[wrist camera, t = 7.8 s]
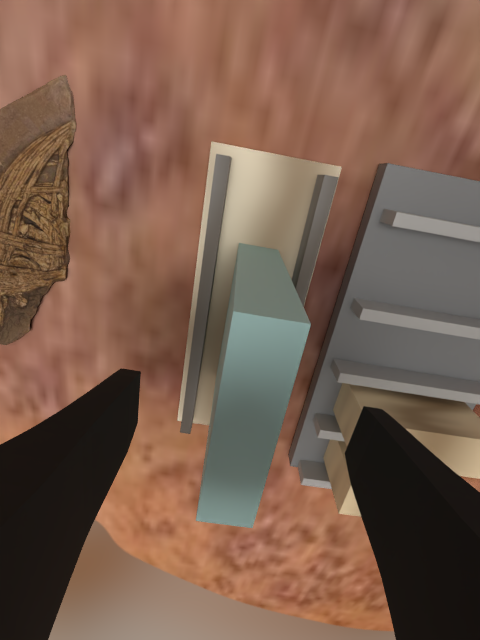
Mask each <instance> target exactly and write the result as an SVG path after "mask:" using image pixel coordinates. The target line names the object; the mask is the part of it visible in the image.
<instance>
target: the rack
mask: <svg viewBox="0 0 480 640" xmlns="http://www.w3.org/2000/svg"><path fill="white" fill-rule="evenodd" d="M342 383H346V384H352V385H359V386H365V387H372V388H378V389H384V390H391V391H397V392H404V393H410V394H416V395H423V396H429V397H436V398H442V399H448V400H455V401H461V402H465V403H466V404H467V405H468V406H469V407H470V408H471V410H473V409H474V407H475V405H476V404H480V181H475V180H470V179H465V178H460V177H455V176H450V175H445V174H440V173H435V172H429V171H424V170H419V169H414V168H409V167H404V166H399V165H394V164H389V163H384V164H379V167H378V170H377V173H376V176H375V180H374V183H373V186H372V189H371V192H370V196H369V199H368V202H367V205H366V208H365V212H364V215H363V218H362V221H361V224H360V228H359V231H358V234H357V237H356V240H355V244H354V247H353V250H352V253H351V256H350V260H349V263H348V266H347V269H346V272H345V276H344V279H343V282H342V285H341V288H340V292H339V295H338V298H337V301H336V304H335V308H334V311H333V314H332V317H331V320H330V324H329V327H328V330H327V333H326V336H325V339H324V343H323V346H322V349H321V352H320V355H319V359H318V362H317V365H316V368H315V371H314V375H313V378H312V381H311V384H310V387H309V391H308V394H307V397H306V400H305V403H304V407H303V410H302V413H301V416H300V419H299V423H298V426H297V429H296V432H295V435H294V439H293V442H292V445H291V448H290V451H289V461H290V466H294V467H298V470H299V476H300V481H301V485H306V486H314V487H321V488H328V489H332V488H331V484H330V480H329V477H328V473H327V470H326V466H325V462H324V459H323V457H324V454H325V452H326V449H327V446H328V443H329V441H330V440H337V441H344V438H343V435H342V433H341V430H340V427H339V425H338V422H337V419H336V417H335V414H334V411H333V408H334V405H335V402H336V400H337V397H338V394H339V391H340V389H341V386H342ZM344 442H345V441H344Z"/></svg>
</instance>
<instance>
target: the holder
mask: <svg viewBox="0 0 480 640" xmlns="http://www.w3.org/2000/svg"><path fill="white" fill-rule="evenodd" d="M341 168H342V167H340V166H335V165H329V164H324V163H319V162H314V161H309V160H304V159H299V158H294V157H288V156H283V155H278V154H273V153H268V152H263V151H258V150H253V149H247V148H242V147H237V146H232V145H227V144H222V143H217V142H211V150H210V158H209V166H208V174H207V182H206V191H205V199H204V207H203V215H202V223H201V231H200V240H199V248H198V256H197V264H196V272H195V280H194V289H193V297H192V305H191V313H190V321H189V329H188V338H187V346H186V354H185V362H184V370H183V378H182V387H181V395H180V403H179V411H178V419H177V421H182V422H181V429H180V432H181V433H188V434H190V432H191V428H192V423H197V424H203V425H209V424H210V417H211V410H212V403H213V396H214V389H215V381H216V375H217V369H218V363H219V357H220V351H221V345H222V339H223V334H224V328H225V322H226V316H227V310H228V304H229V298H230V293H231V287H232V281H233V275H234V269H235V263H236V257H237V252H238V246H239V243H243V244H248V245H254V246H260V247H265V248H271V249H276V250H278V251H279V253H280V255H281V257H282V260H283V262H284V264H285V266H286V269H287V271H288V273H289V276H290V278H291V280H292V282H293V285H294V287H295V289H296V291H297V294H298V296H299V298H300V300H301V303H302V305H303V307H304V304H305V300H306V297H307V293H308V289H309V286H310V282H311V278H312V275H313V271H314V267H315V264H316V260H317V256H318V253H319V249H320V245H321V241H322V238H323V234H324V230H325V227H326V223H327V219H328V216H329V212H330V208H331V205H332V201H333V197H334V194H335V190H336V186H337V183H338V179H339V175H340V172H341Z"/></svg>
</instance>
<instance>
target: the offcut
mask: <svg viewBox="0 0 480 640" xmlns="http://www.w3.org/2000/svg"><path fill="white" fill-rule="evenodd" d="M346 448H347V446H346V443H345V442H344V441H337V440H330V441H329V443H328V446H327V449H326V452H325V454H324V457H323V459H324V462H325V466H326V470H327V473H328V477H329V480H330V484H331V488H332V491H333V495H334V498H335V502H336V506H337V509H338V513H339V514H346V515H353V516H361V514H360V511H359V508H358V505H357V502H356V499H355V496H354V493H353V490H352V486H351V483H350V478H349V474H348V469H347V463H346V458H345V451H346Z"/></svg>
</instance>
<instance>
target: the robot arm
mask: <svg viewBox="0 0 480 640" xmlns="http://www.w3.org/2000/svg"><path fill="white" fill-rule="evenodd" d="M140 374H141V372H140V371H134V370H127V369H120V370H118V371H117V372H115V373H114V374H112V375H111V376H110V377H108V378H107V379H105V380H104V381H103V382H101V383H100V384H99V385H97V386H96V387H94V388H93V389H92V390H90V391H89V392H87V393H86V394H84V395H83V396H81V397H80V398H79V399H77V400H76V401H74V402H73V403H71V404H70V405H68V406H67V407H65V408H64V409H62V410H61V411H59V412H57V413H56V414H54V415H52V416H51V417H49V418H48V419H46V420H44V421H43V422H41V423H40V424H38V425H36V426H34V427H33V428H31V429H29V430H27V431H26V432H24V433H22V434H20V435H18V436H16V437H14V438H12V439H10V440H9V441H7V442H5V443H3V444H1V445H0V640H48V638H49V635H50V632H51V630H52V627H53V624H54V621H55V619H56V616H57V613H58V611H59V608H60V605H61V603H62V600H63V597H64V595H65V592H66V589H67V586H68V584H69V581H70V578H71V575H72V573H73V571H74V568H75V565H76V563H77V560H78V557H79V555H80V552H81V550H82V547H83V545H84V542H85V540H86V537H87V535H88V533H89V531H90V528H91V526H92V524H93V522H94V520H95V518H96V516H97V514H98V512H99V510H100V507H101V505H102V503H103V501H104V499H105V497H106V495H107V493H108V491H109V489H110V487H111V485H112V483H113V481H114V479H115V477H116V475H117V473H118V471H119V469H120V466H121V464H122V462H123V460H124V458H125V456H126V454H127V452H128V449H129V446H130V443H131V440H132V438H133V435H134V432H135V429H136V426H137V423H138V407H139V390H140ZM345 458H346V463H347V469H348V474H349V478H350V483H351V486H352V490H353V493H354V496H355V499H356V502H357V505H358V508H359V511H360V514H361V517H362V520H363V523H364V526H365V529H366V531H367V534H368V537H369V540H370V543H371V546H372V549H373V552H374V555H375V558H376V561H377V564H378V568H379V571H380V574H381V578H382V582H383V586H384V590H385V594H386V598H387V602H388V606H389V610H390V614H391V619H392V623H393V628H394V632H395V637H396V640H480V492H478V491H477V490H476V489H475V488H473V487H472V486H471V485H470V484H469V483H467V482H466V481H465V480H464V479H462V478H461V477H460V476H459V475H458V474H456V473H455V472H454V471H453V470H452V469H450V468H449V467H448V466H447V465H446V464H445V463H443V462H442V461H441V460H440V459H439V458H438V457H436V456H435V455H434V454H433V453H432V452H431V451H430V450H429V449H427V448H426V447H425V446H424V445H423V444H422V443H421V442H420V441H418V440H417V439H416V438H415V437H414V436H413V435H412V434H411V433H410V432H408V431H407V430H406V429H405V428H404V427H403V426H402V425H401V424H400V423H398V422H397V421H396V420H395V419H394V418H393V417H391V416H390V415H389V414H388V413H387V412H385V411H384V410H383V409H379V408H373V407H366V406H364V407H363V409H362V411H361V414H360V416H359V419H358V421H357V424H356V426H355V429H354V431H353V434H352V436H351V439H350V441H349V444H348V446H347V448H346V451H345Z"/></svg>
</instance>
